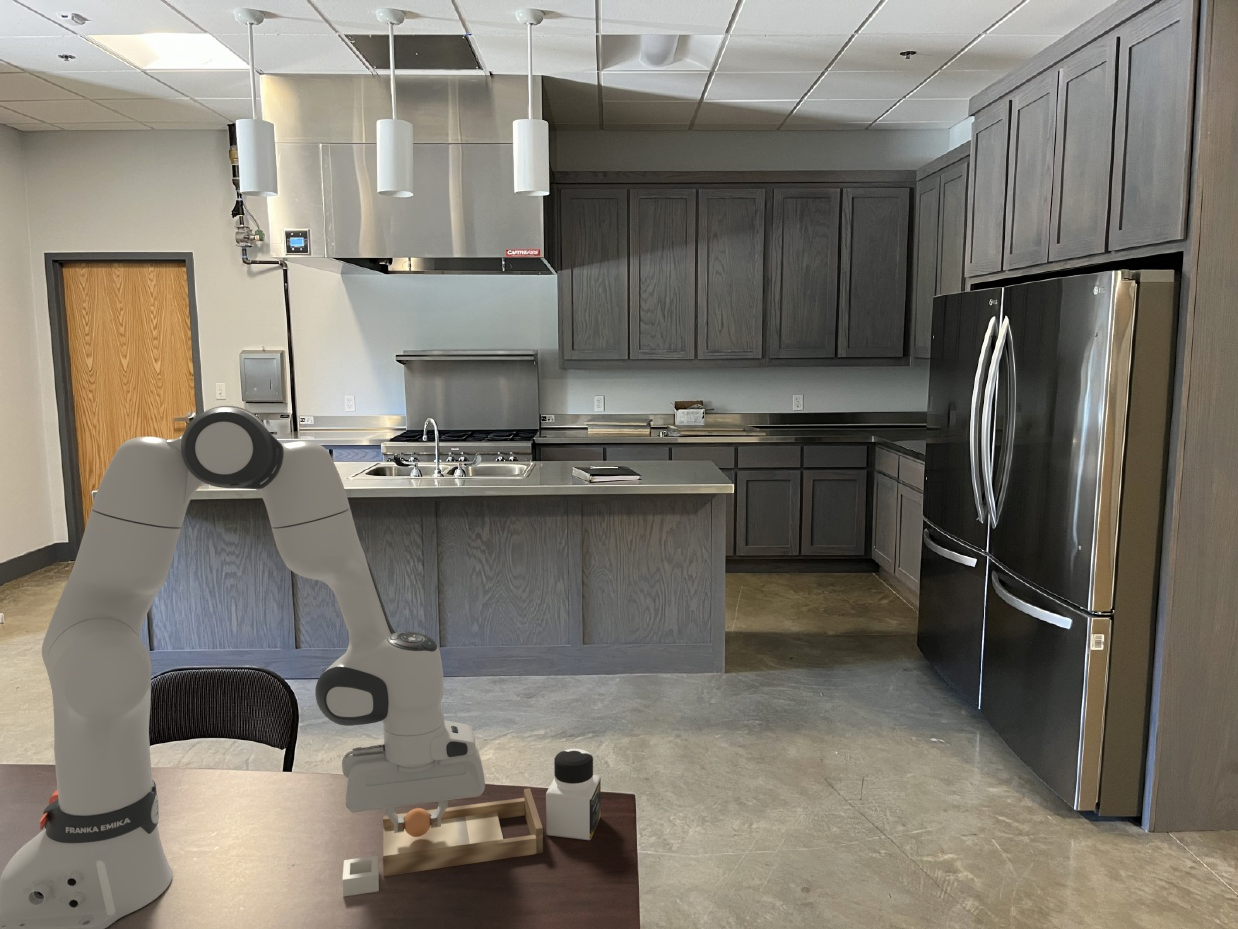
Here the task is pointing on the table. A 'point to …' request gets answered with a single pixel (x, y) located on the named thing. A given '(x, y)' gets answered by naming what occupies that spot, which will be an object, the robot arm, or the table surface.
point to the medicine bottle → (573, 796)
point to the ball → (417, 822)
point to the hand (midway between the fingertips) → (417, 828)
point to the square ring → (360, 876)
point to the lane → (463, 837)
